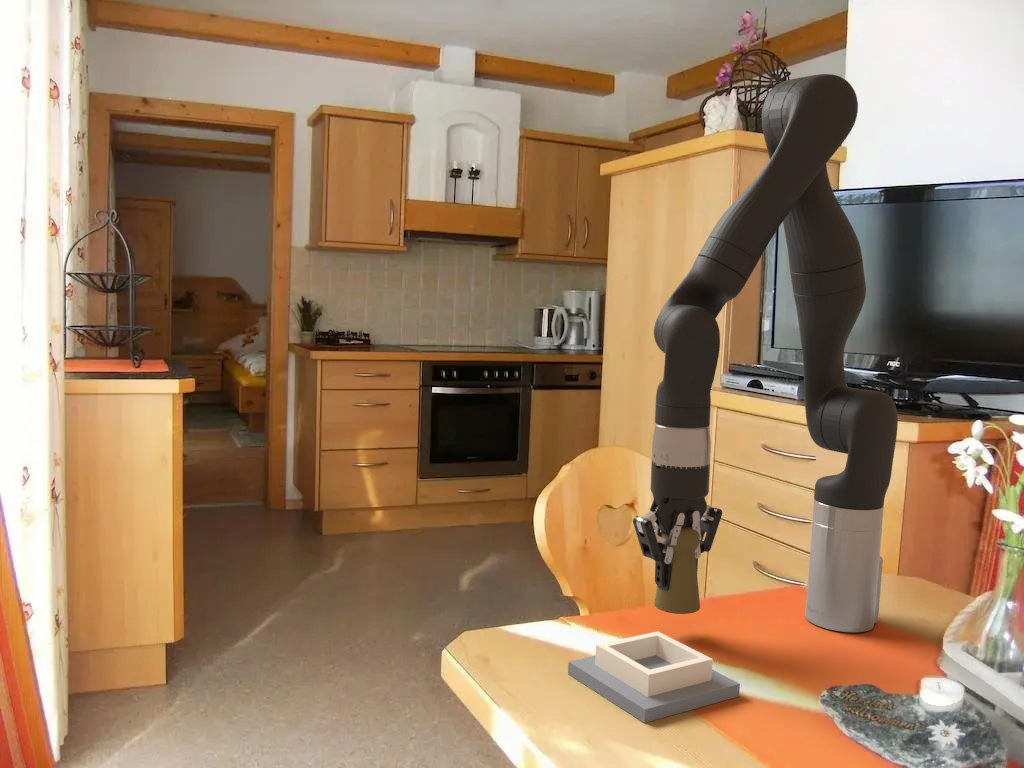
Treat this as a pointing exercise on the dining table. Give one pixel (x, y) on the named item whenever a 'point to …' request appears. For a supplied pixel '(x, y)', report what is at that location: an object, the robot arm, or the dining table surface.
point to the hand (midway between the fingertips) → (675, 585)
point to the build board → (653, 676)
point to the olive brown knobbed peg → (681, 576)
